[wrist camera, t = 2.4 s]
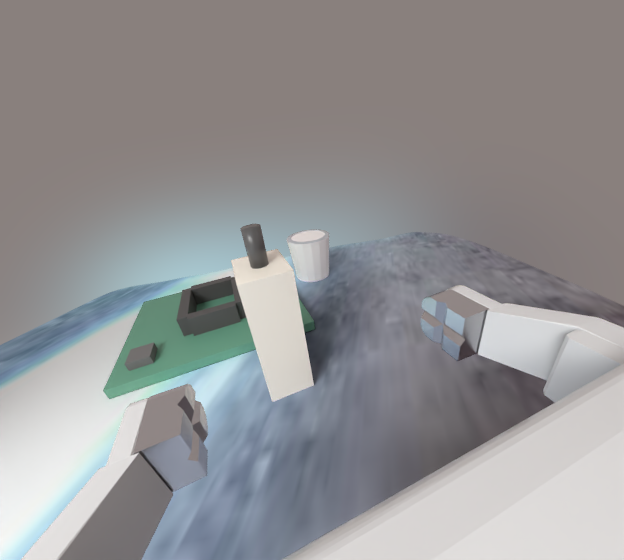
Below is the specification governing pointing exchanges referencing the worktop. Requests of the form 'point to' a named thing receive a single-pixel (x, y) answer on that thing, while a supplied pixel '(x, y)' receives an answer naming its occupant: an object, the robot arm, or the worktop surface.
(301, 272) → the white cup
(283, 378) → the plug
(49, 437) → the worktop surface
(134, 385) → the circuit board
